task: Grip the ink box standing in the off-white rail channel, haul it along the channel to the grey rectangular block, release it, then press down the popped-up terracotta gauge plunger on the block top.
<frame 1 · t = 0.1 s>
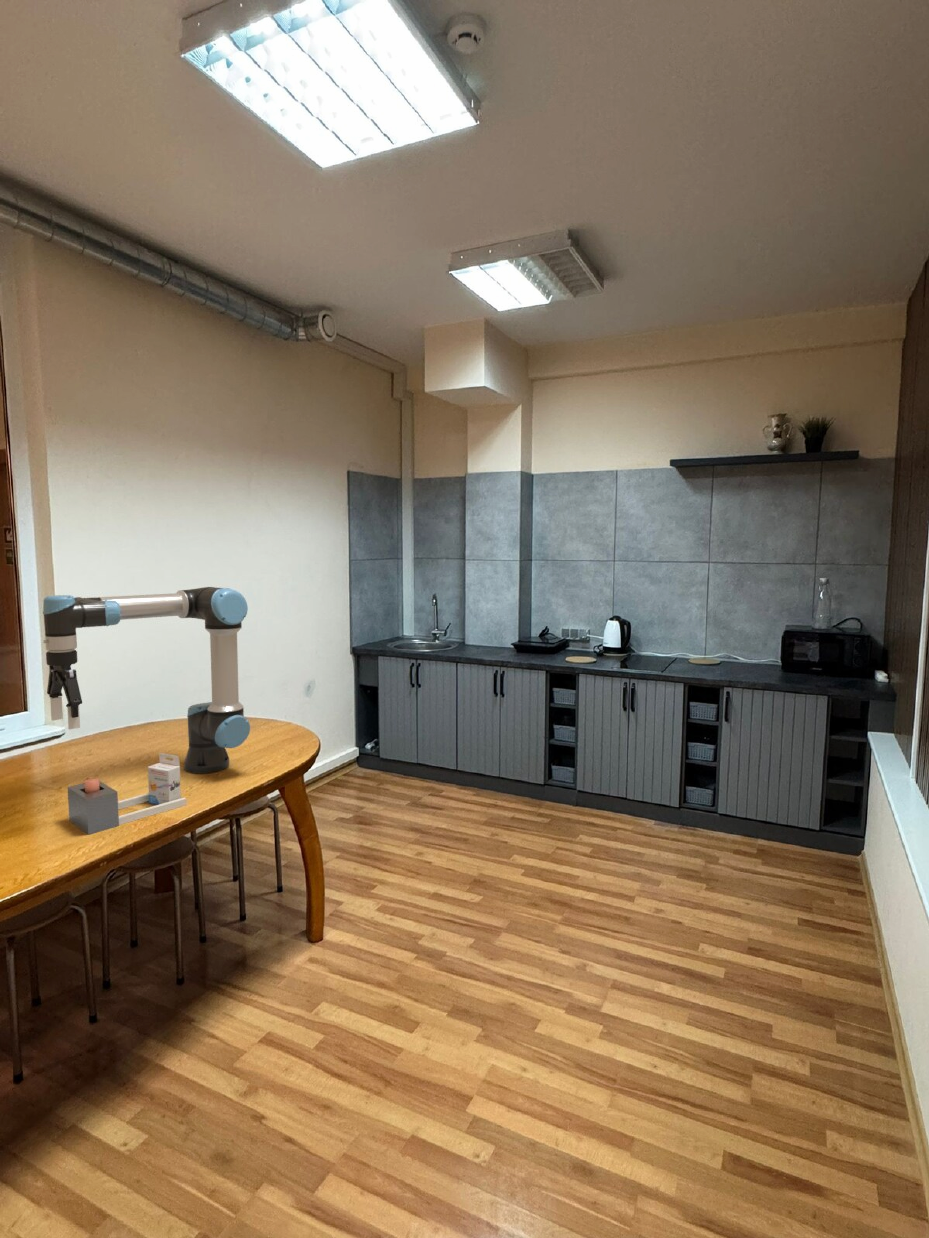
hand: (65, 724, 190), 28 cm above the table, fingers open, 13 cm apart
ink box: (165, 803, 205), on the table
grey rectangular block: (93, 823, 190), on the table
rail track: (143, 808, 200), on the table
gauge plunger: (92, 789, 189), point 10 cm above the table, slide at 0.0 cm
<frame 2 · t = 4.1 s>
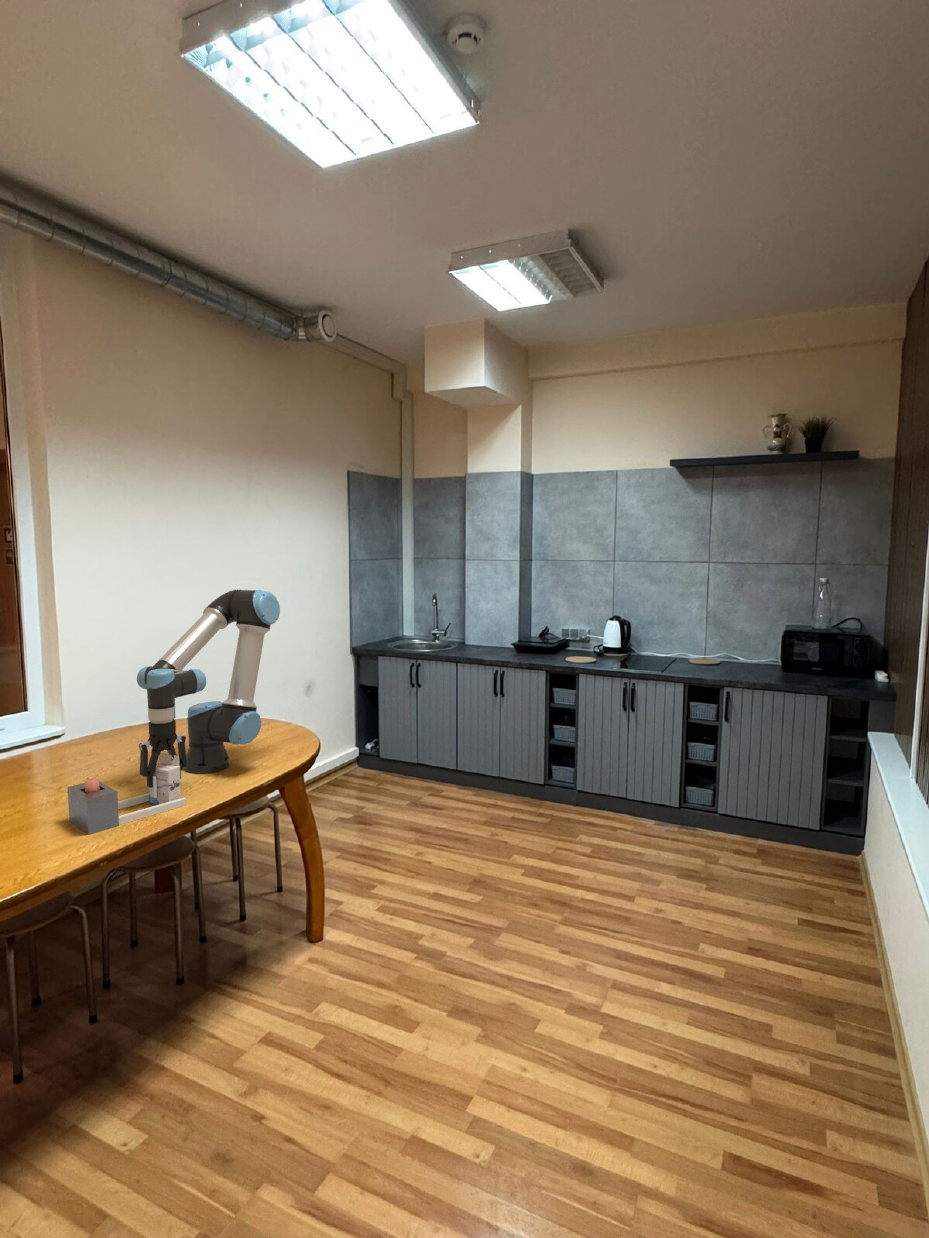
hand: (164, 793, 205), 3 cm above the table, fingers closed on ink box, 6 cm apart
ink box: (165, 803, 205), on the table, touching gripper
everything else where it was.
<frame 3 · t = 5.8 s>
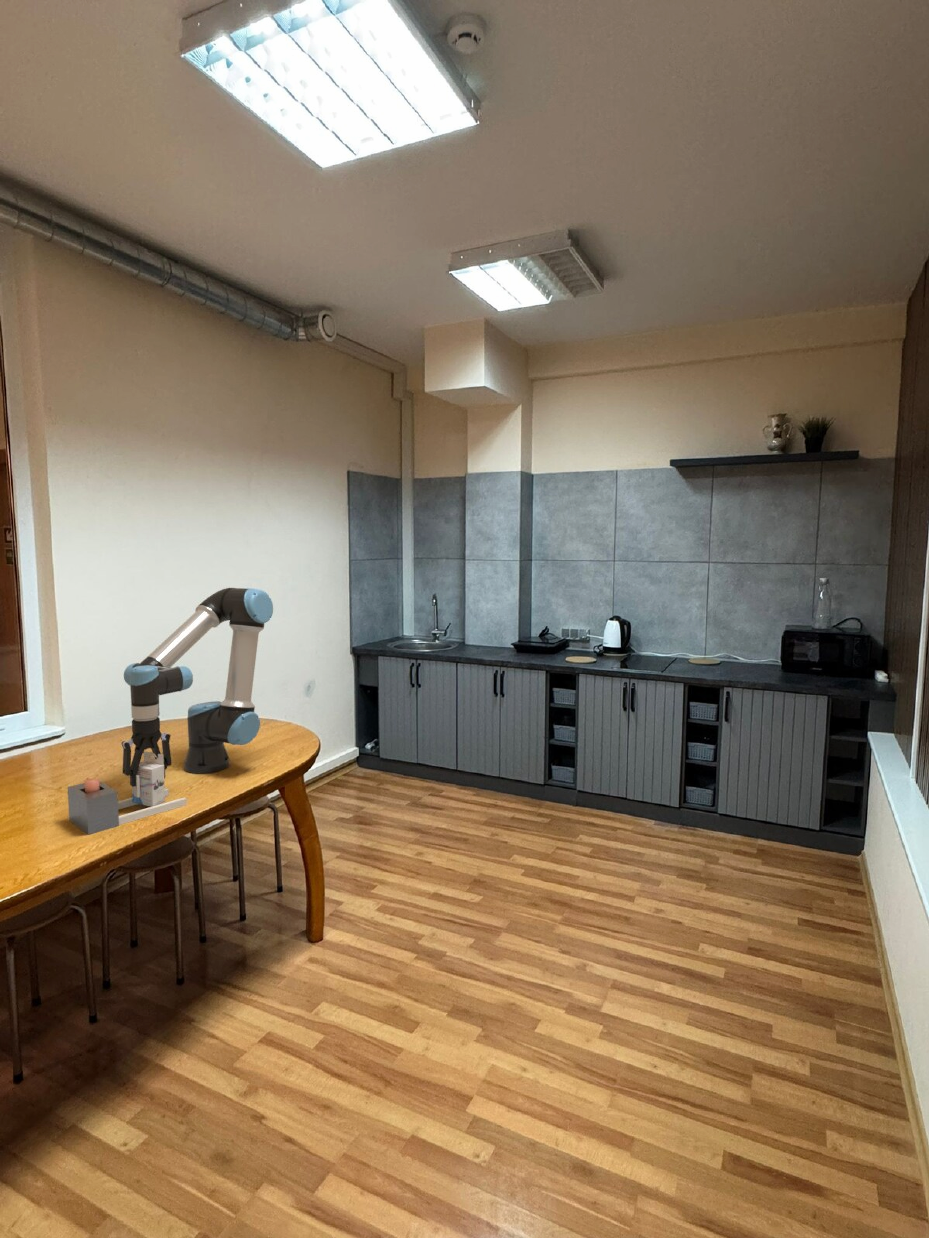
hand: (148, 792, 201), 5 cm above the table, fingers closed on ink box, 6 cm apart
ink box: (148, 802, 201), point 1 cm above the table, touching gripper
everything else where it was.
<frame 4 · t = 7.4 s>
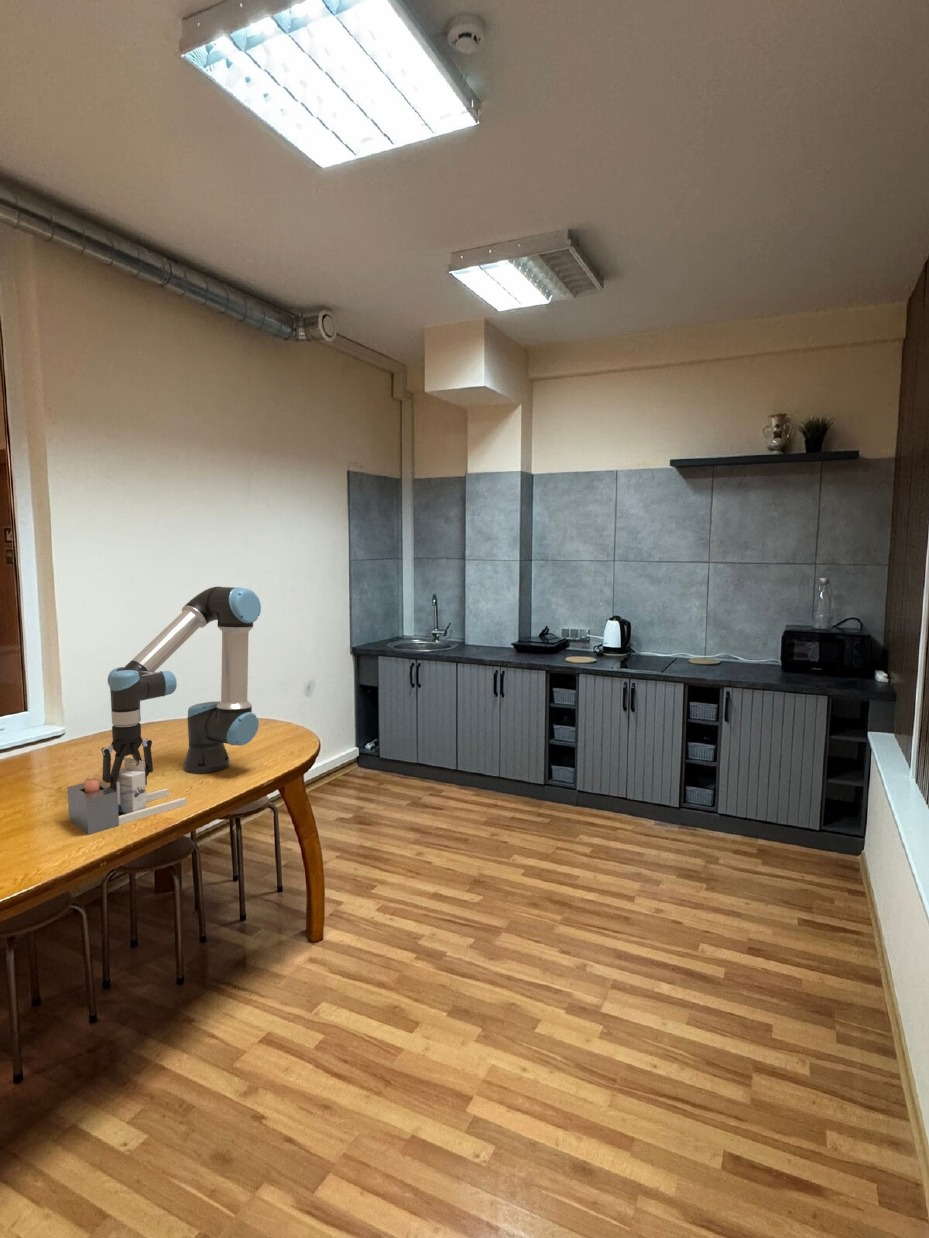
hand: (129, 799, 197), 4 cm above the table, fingers closed on ink box, 6 cm apart
ink box: (129, 810, 197), point 1 cm above the table, touching gripper
everything else where it was.
when the fingers open (4 cm above the table, at t = 7.9 s): ink box stays where it is, on the table.
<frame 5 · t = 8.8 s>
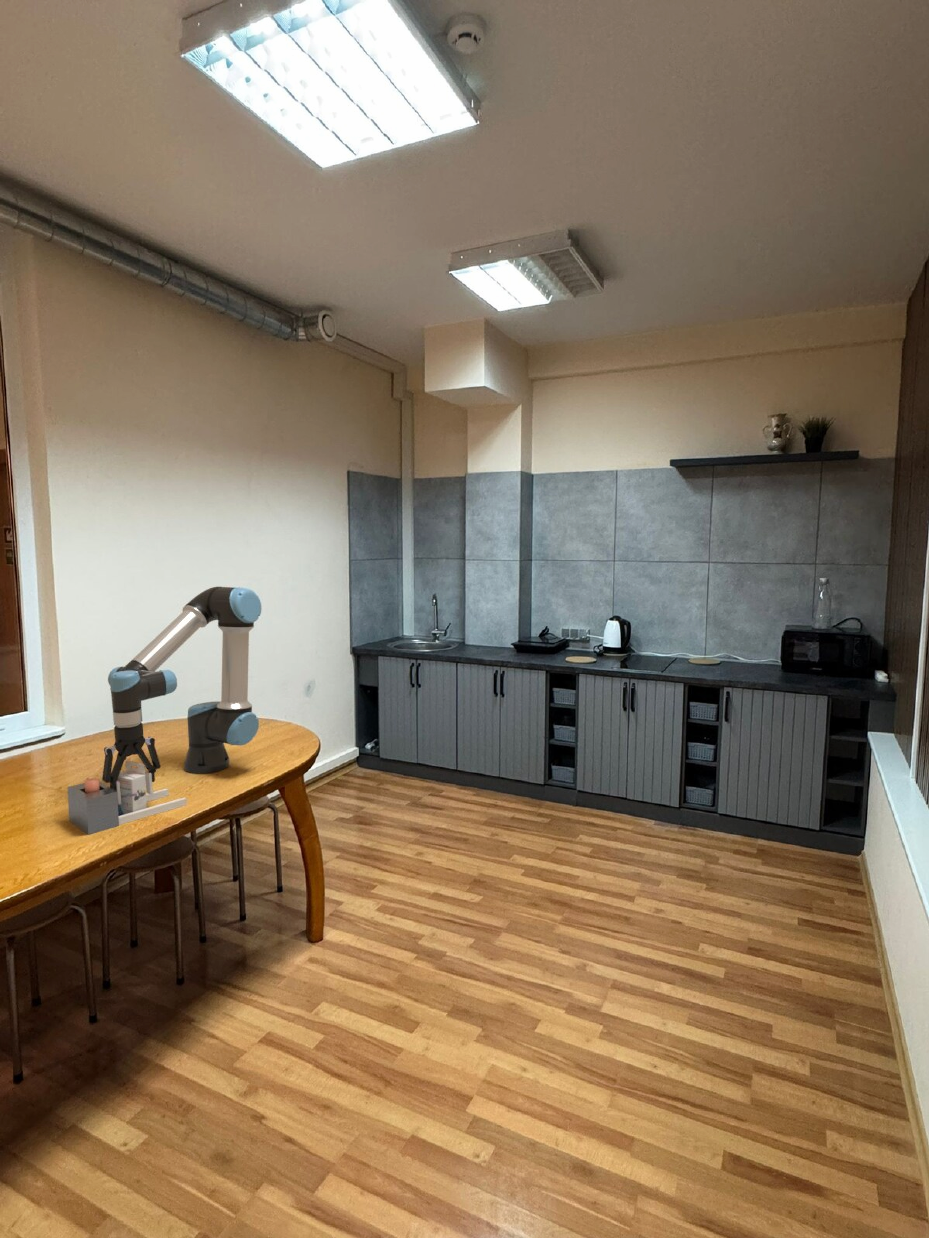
hand: (134, 797, 198), 4 cm above the table, fingers open, 8 cm apart
ink box: (130, 813, 197), on the table, touching gripper
everything else where it was.
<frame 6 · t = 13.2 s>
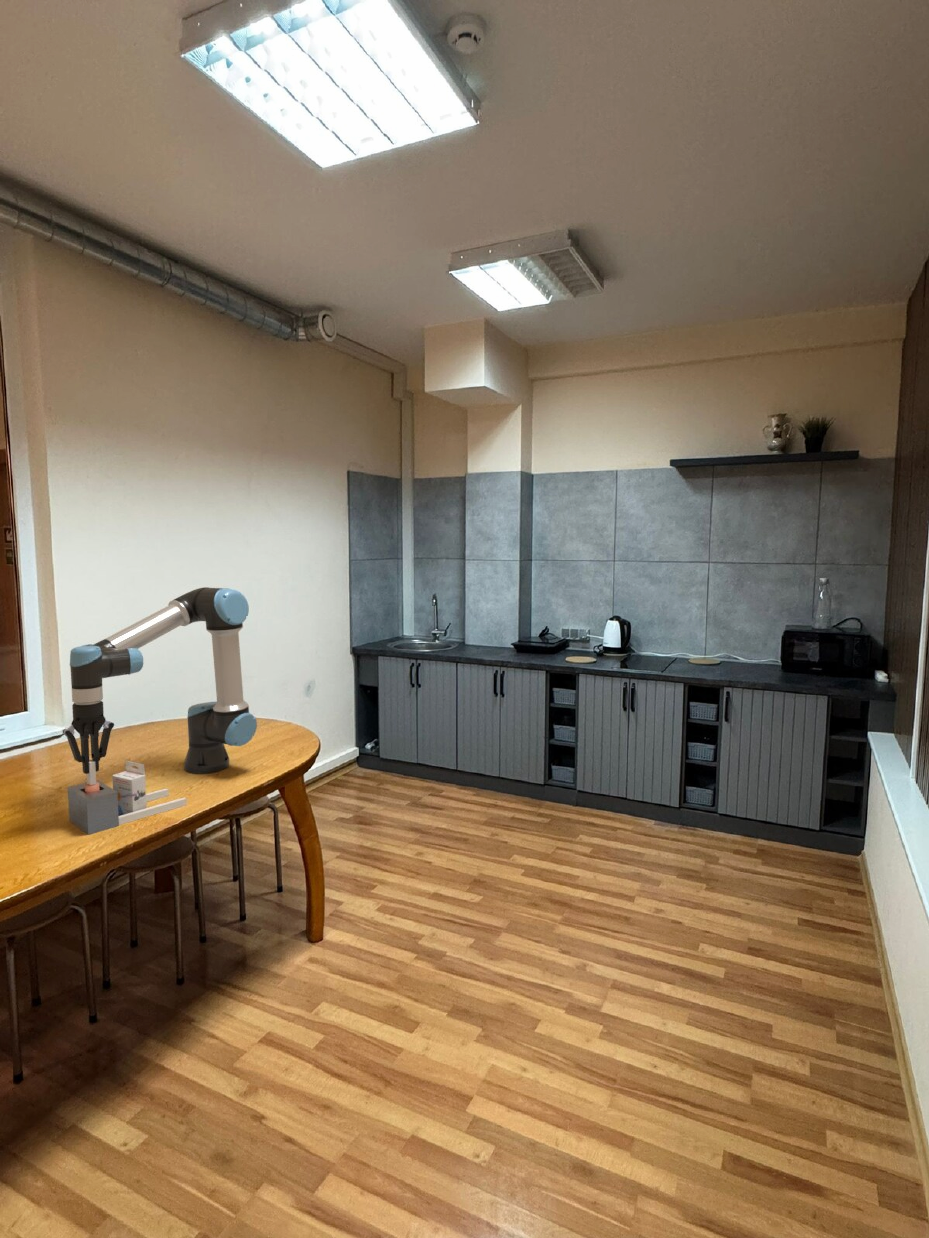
hand: (91, 783, 188), 12 cm above the table, fingers closed
ink box: (130, 813, 197), on the table
gauge plunger: (92, 792, 189), point 9 cm above the table, slide at 1.0 cm, touching gripper
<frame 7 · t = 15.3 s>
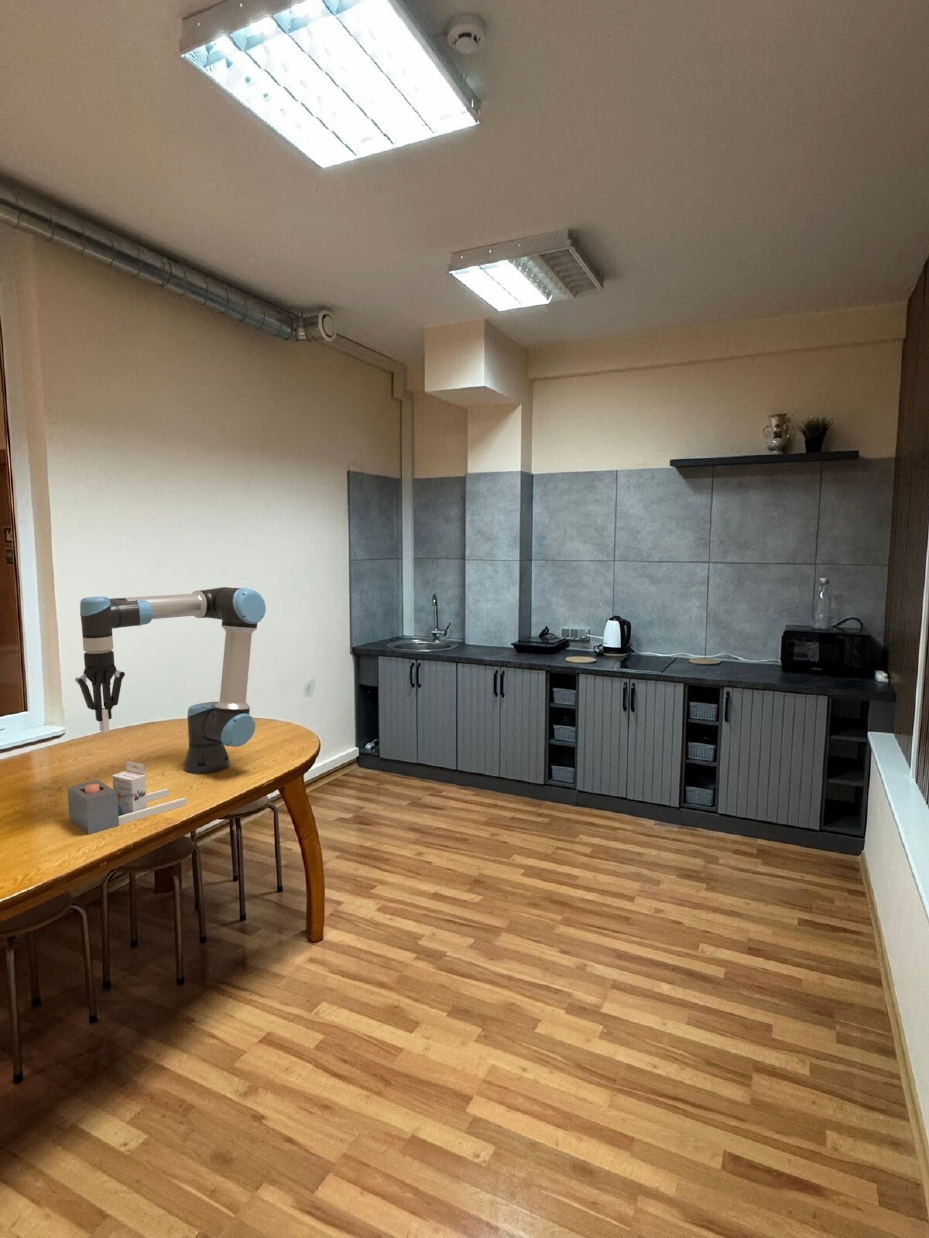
hand: (104, 730, 193), 25 cm above the table, fingers closed
gauge plunger: (92, 794, 189), point 8 cm above the table, slide at 1.5 cm
everything else where it was.
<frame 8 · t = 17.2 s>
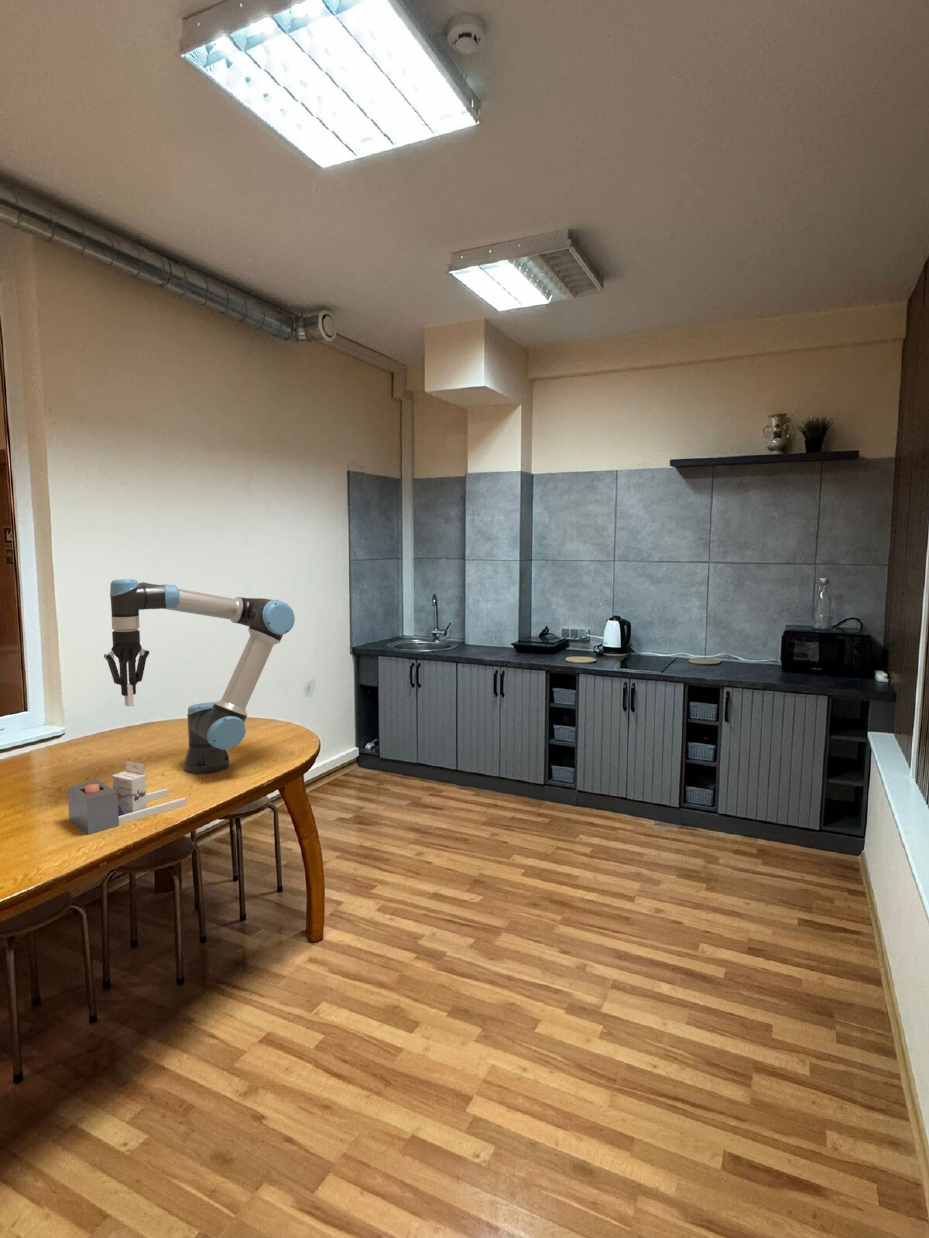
hand: (129, 705, 206), 29 cm above the table, fingers closed
nothing on the table moved.
at the end: ink box inside the target area (0.6 cm from its centre), on the table; ink box tilted 0°; gauge plunger slide at 1.5 cm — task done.
